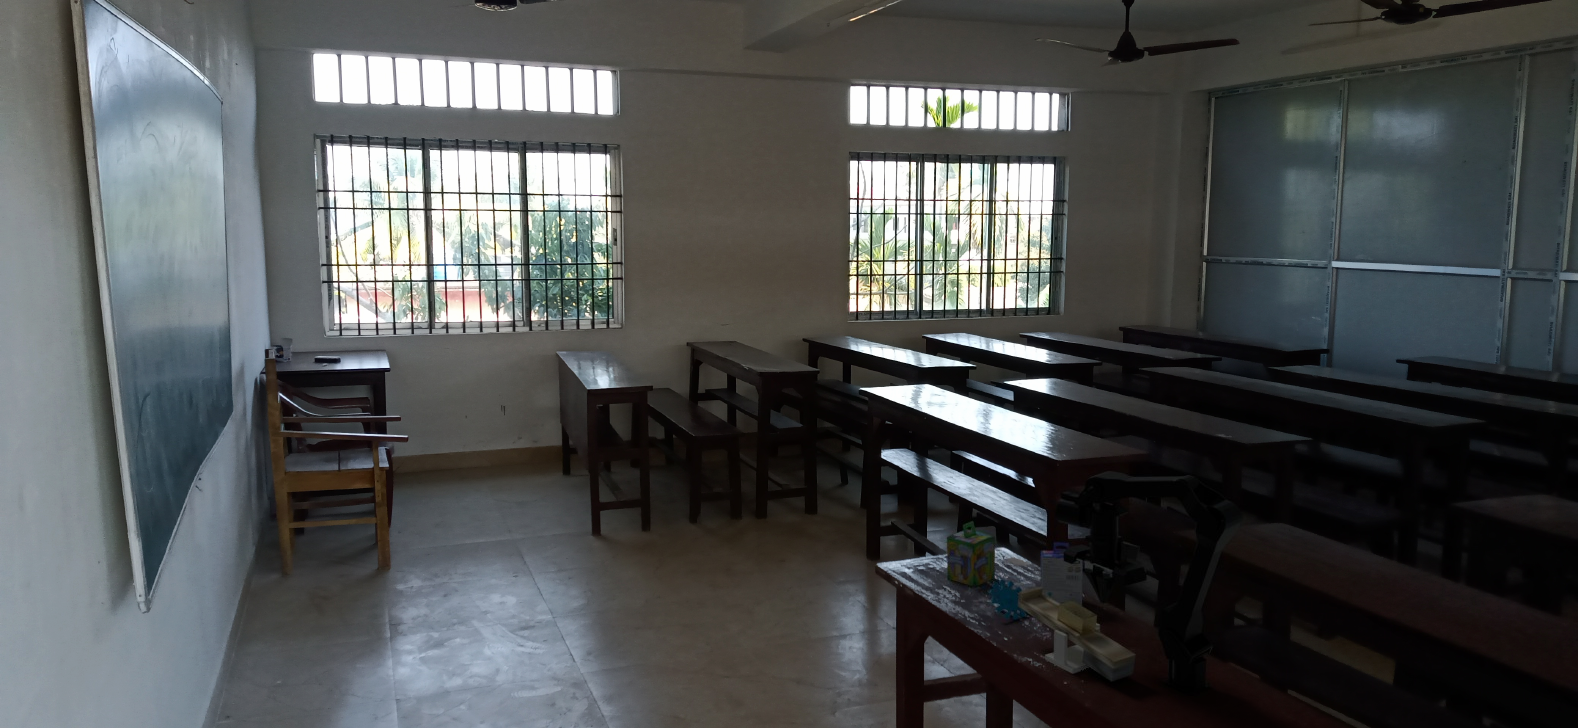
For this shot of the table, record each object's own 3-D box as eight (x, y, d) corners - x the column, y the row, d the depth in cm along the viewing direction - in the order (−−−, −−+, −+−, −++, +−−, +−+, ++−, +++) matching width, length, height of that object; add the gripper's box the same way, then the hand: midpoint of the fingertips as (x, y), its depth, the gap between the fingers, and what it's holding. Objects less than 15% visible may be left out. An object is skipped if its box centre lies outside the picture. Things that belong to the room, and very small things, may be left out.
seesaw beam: (1136, 672, 208) (1140, 644, 206) (1108, 682, 204) (1111, 653, 202) (1040, 611, 231) (1042, 585, 230) (1012, 619, 227) (1015, 592, 226)
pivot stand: (1108, 661, 216) (1109, 628, 215) (1072, 673, 211) (1073, 640, 210) (1080, 647, 223) (1081, 615, 222) (1045, 659, 218) (1045, 626, 217)
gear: (1001, 618, 235) (986, 578, 241) (988, 629, 240) (974, 590, 245) (1039, 615, 240) (1024, 576, 246) (1026, 626, 244) (1011, 588, 250)
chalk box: (974, 588, 259) (974, 531, 256) (945, 579, 265) (945, 524, 263) (996, 578, 265) (996, 523, 262) (968, 569, 271) (967, 515, 269)
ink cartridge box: (1081, 598, 250) (1082, 541, 248) (1083, 607, 244) (1084, 549, 242) (1039, 596, 252) (1040, 540, 250) (1040, 605, 246) (1041, 547, 244)
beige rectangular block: (1094, 632, 214) (1097, 615, 213) (1081, 636, 212) (1083, 619, 211) (1070, 617, 220) (1072, 600, 219) (1056, 621, 218) (1058, 604, 217)
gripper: (1166, 536, 211) (1165, 608, 213) (1099, 514, 227) (1099, 582, 229) (1126, 546, 206) (1126, 620, 208) (1061, 523, 222) (1061, 592, 224)
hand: (1103, 602), depth 217 cm, fingers closed
